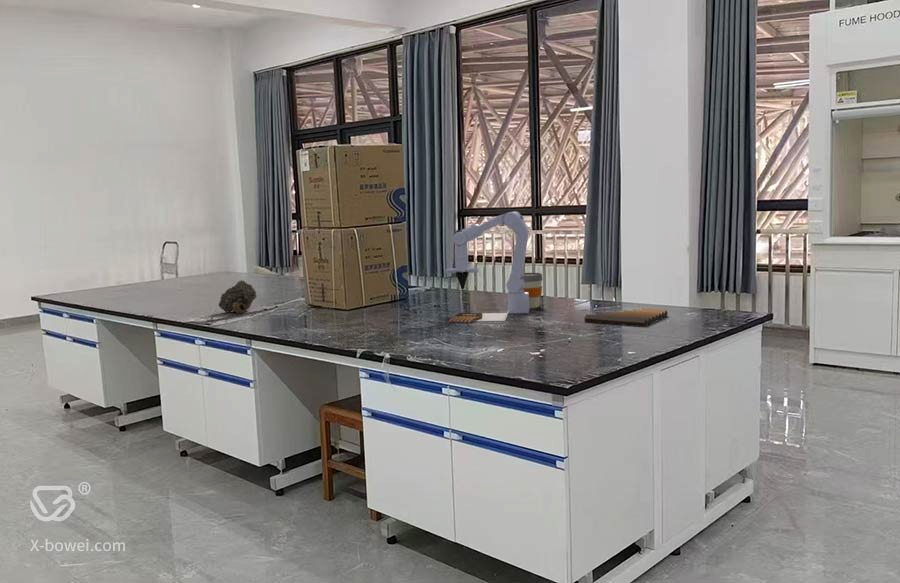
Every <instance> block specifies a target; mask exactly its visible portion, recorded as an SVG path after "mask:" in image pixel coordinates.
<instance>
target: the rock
mask: <svg viewBox="0 0 900 583" xmlns="http://www.w3.org/2000/svg"><path fill="white" fill-rule="evenodd" d="M256 298H257V291H256V290H255V288H254V287H253V286H252V284H249V283H247V282H246V281H245V280H242V279H241V280H239V281H237V283H236V284H235V285H233V286H232V287H229V288H228V289H226V290H225V292H224V293H222V294H221V296H220V301H219V303H218V307H219V308H220V309H221V310H222V311H224V312H225V313H231V312H234V313H236V314H238V315H239V314H244V313H245V312H246V311H247V310H248V309H250V308H251V306H252V304H253V302H254V301H255V299H256Z"/></svg>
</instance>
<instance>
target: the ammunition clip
mask: <svg viewBox="0 0 900 583" xmlns="http://www.w3.org/2000/svg"><path fill="white" fill-rule="evenodd" d="M482 313H483V312H481V313H480V312H459V313H457V314H456V315H454V316H453V317H452V318H450V319H449V320H448V322H449V323H472V322H475V320H479V319H481V318H482Z"/></svg>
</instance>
